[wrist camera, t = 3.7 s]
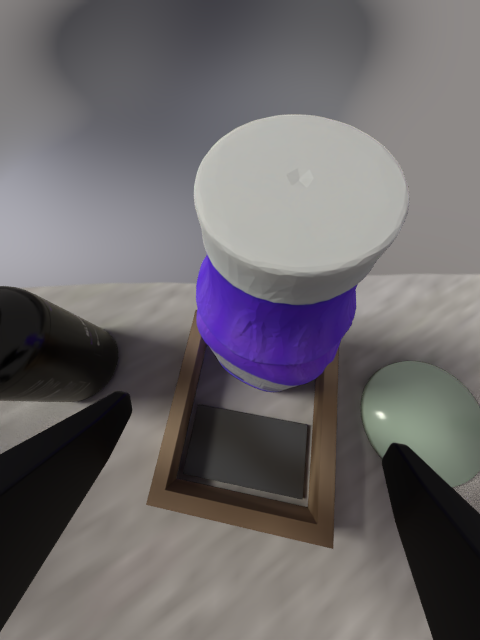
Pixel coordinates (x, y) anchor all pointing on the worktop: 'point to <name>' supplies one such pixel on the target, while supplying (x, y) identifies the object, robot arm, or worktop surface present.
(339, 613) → the worktop surface
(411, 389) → the coaster
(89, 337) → the supplement bottle
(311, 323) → the bottle
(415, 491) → the robot arm
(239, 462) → the wooden u-shaped frame
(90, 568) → the worktop surface
